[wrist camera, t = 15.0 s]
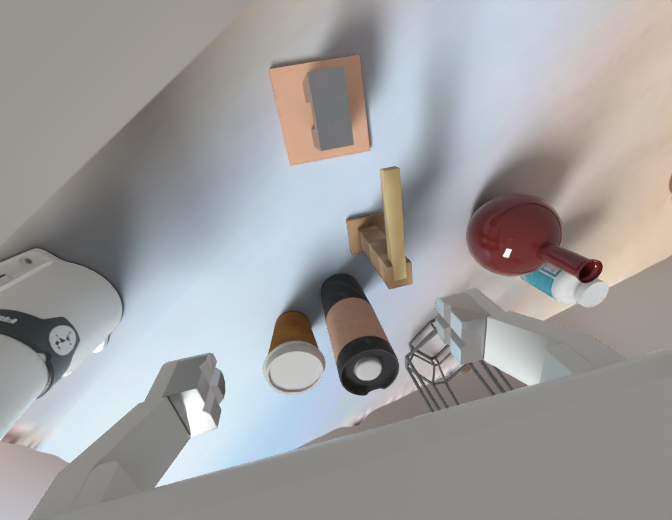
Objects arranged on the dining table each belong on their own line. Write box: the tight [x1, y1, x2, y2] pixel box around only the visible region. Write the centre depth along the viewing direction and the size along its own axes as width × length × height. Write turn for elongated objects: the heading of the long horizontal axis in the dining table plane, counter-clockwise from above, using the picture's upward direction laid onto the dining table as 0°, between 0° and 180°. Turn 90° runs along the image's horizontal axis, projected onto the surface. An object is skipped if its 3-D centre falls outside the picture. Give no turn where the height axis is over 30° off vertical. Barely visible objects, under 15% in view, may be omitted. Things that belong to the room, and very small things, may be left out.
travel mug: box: [321, 274, 399, 396], centre depth 44 cm, size 8×8×20 cm
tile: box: [269, 54, 370, 166], centre depth 41 cm, size 12×12×1 cm
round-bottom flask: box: [466, 193, 603, 283], centre depth 44 cm, size 13×13×20 cm
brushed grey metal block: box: [302, 66, 354, 151], centre depth 37 cm, size 8×4×8 cm, turn 9°
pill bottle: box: [518, 264, 608, 307], centre depth 52 cm, size 8×7×14 cm
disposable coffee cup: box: [263, 311, 325, 395], centre depth 49 cm, size 10×10×12 cm
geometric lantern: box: [405, 320, 514, 412], centre depth 47 cm, size 16×16×35 cm
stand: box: [346, 166, 413, 289], centre depth 40 cm, size 6×16×16 cm, turn 9°
